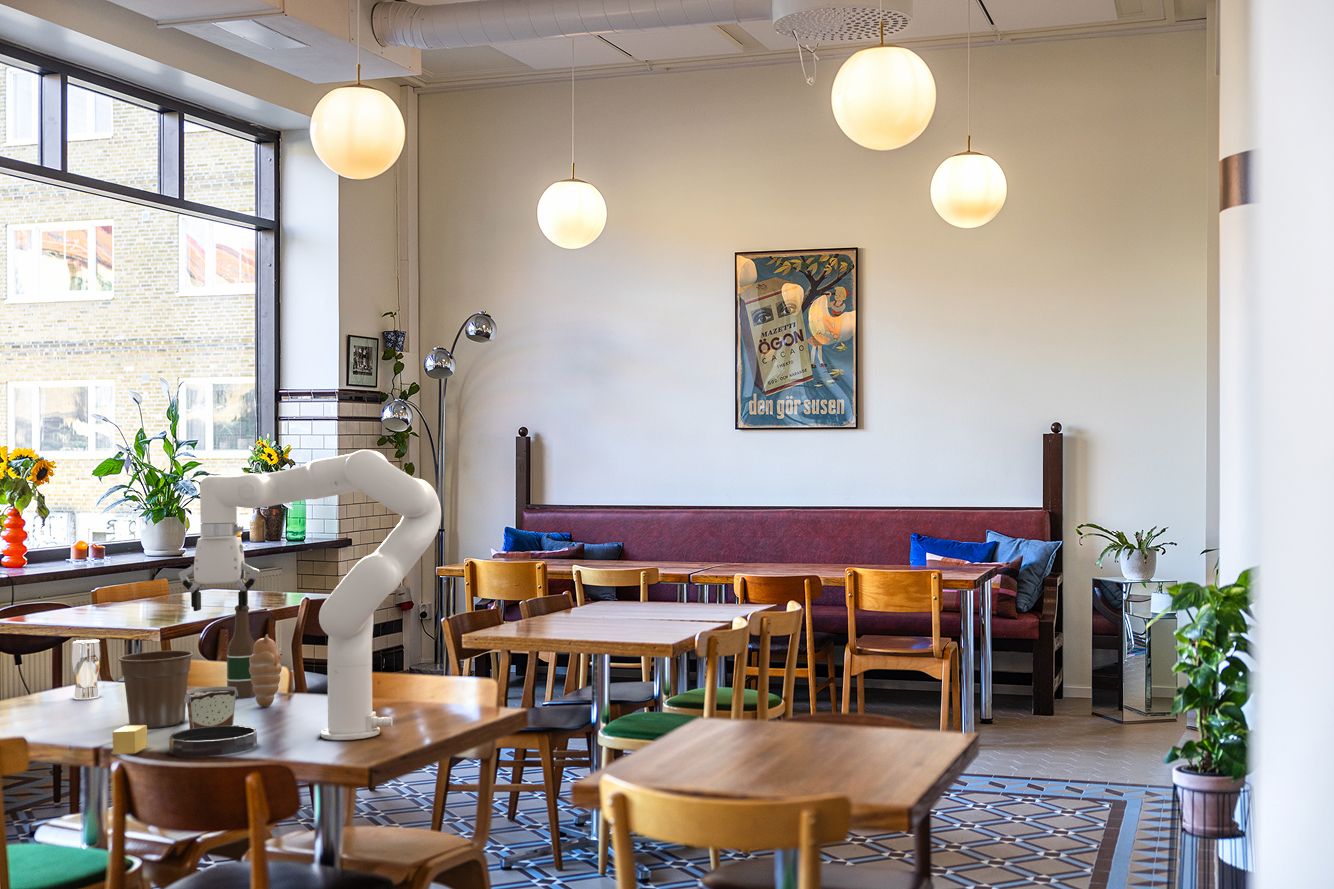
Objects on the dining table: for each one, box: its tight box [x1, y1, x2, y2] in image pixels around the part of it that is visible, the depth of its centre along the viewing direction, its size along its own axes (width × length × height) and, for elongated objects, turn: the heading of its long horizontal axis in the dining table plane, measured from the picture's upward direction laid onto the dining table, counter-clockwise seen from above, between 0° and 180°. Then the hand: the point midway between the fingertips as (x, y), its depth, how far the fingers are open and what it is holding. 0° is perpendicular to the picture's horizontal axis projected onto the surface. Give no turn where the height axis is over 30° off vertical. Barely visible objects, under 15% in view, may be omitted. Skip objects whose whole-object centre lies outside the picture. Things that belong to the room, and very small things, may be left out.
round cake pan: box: [168, 724, 258, 757], centre depth 266 cm, size 17×17×4 cm
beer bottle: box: [226, 604, 256, 699], centre depth 337 cm, size 8×8×24 cm
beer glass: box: [71, 639, 102, 701], centre depth 339 cm, size 7×7×15 cm
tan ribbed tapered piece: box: [249, 633, 283, 708], centre depth 319 cm, size 9×8×18 cm
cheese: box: [112, 725, 148, 755], centre depth 265 cm, size 4×7×5 cm, turn 3°
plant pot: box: [117, 650, 194, 729], centre depth 298 cm, size 16×16×16 cm
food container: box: [184, 686, 238, 729], centre depth 284 cm, size 12×6×10 cm, turn 141°
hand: (219, 609), depth 279 cm, fingers open, 9 cm apart
